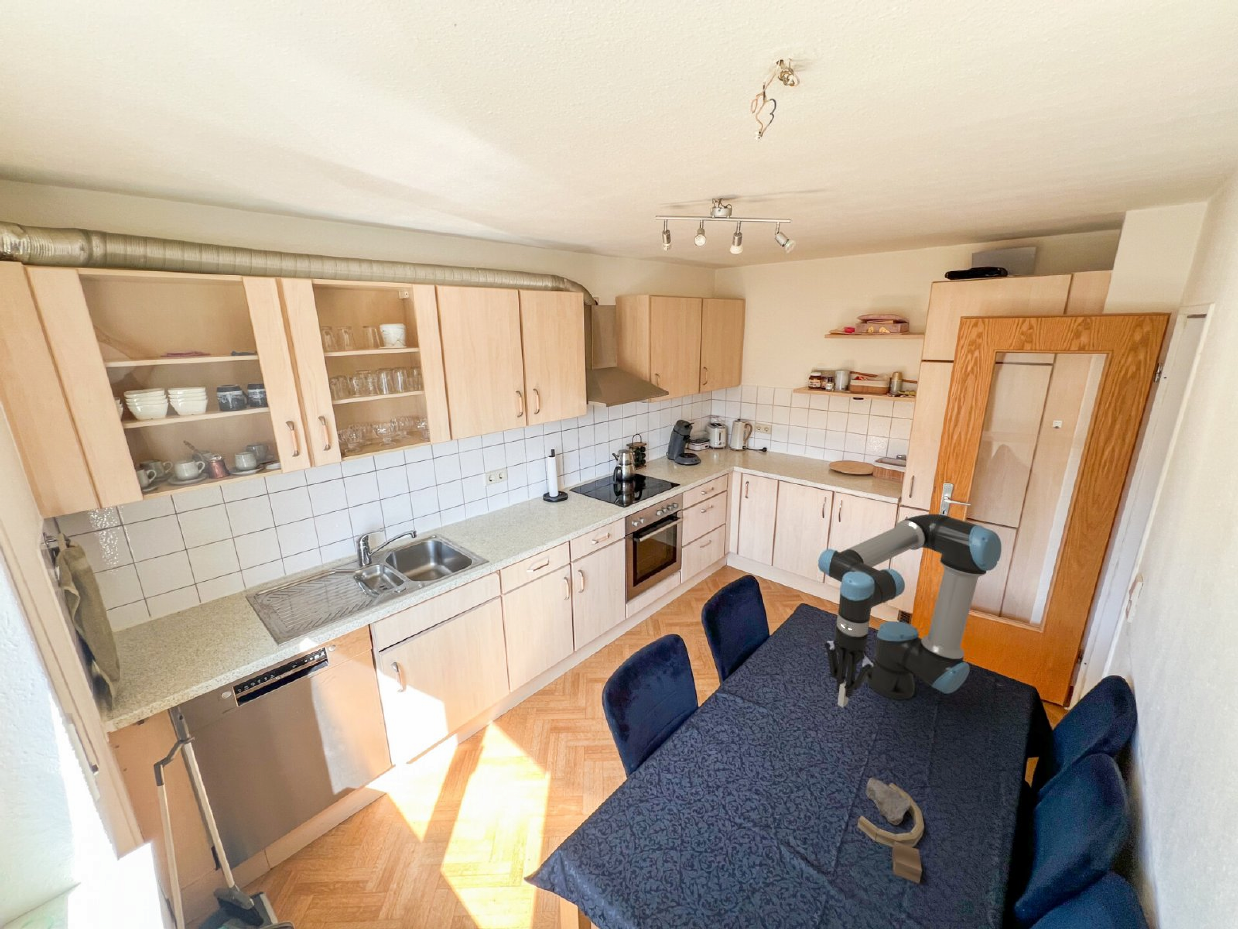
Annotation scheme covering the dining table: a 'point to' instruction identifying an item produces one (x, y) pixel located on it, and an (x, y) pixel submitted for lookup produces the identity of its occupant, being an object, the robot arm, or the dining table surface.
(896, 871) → the walnut block
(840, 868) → the dining table surface
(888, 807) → the stone
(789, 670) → the dining table surface
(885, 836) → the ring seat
